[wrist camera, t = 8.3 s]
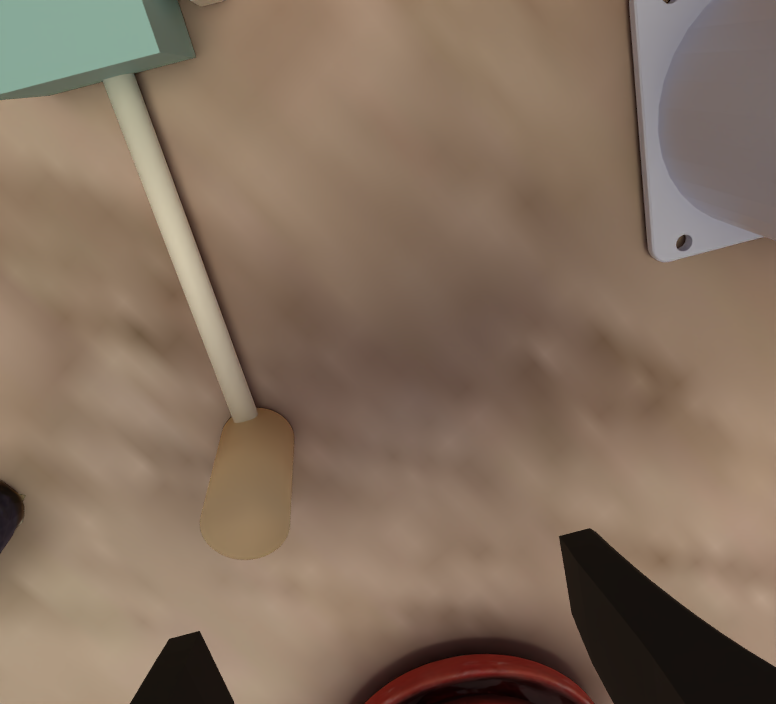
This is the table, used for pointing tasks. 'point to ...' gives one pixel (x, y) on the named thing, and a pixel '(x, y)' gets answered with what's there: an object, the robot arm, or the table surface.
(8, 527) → the flask
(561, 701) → the plant pot
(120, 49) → the toy mallet
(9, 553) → the table surface
